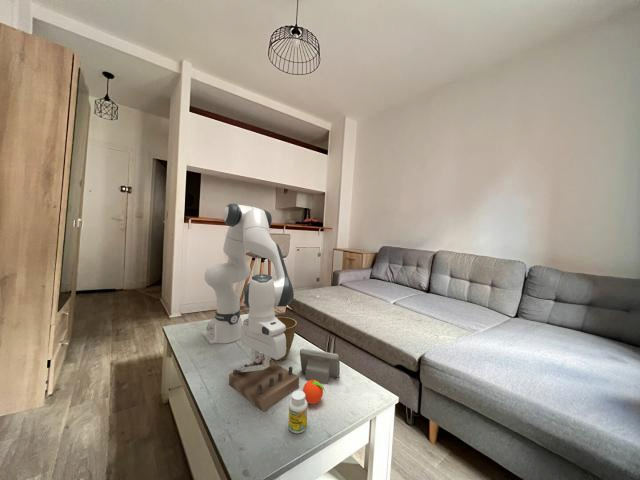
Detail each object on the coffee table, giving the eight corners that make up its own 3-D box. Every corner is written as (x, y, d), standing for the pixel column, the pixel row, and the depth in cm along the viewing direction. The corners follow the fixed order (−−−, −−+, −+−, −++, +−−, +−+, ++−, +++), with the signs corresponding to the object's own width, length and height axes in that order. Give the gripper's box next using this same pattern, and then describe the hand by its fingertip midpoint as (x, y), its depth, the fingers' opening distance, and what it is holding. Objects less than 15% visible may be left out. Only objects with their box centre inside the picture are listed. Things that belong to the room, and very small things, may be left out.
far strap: (256, 363, 96) (256, 361, 97) (262, 360, 99) (262, 358, 99) (280, 351, 88) (279, 349, 88) (286, 348, 90) (285, 346, 90)
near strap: (236, 372, 89) (236, 370, 90) (243, 369, 92) (243, 367, 92) (262, 369, 80) (261, 367, 80) (269, 366, 82) (269, 363, 82)
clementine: (328, 398, 84) (329, 378, 83) (321, 412, 77) (322, 391, 77) (307, 392, 87) (308, 372, 86) (298, 405, 80) (299, 384, 80)
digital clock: (341, 376, 97) (343, 350, 96) (333, 389, 89) (334, 361, 88) (306, 365, 104) (307, 340, 103) (295, 376, 96) (296, 350, 95)
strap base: (228, 384, 89) (229, 366, 89) (264, 366, 102) (264, 350, 101) (263, 411, 77) (264, 391, 76) (298, 387, 89) (299, 369, 89)
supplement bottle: (308, 421, 74) (309, 390, 73) (304, 435, 68) (305, 402, 68) (291, 418, 75) (292, 387, 74) (286, 432, 69) (287, 399, 69)
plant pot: (298, 364, 104) (299, 327, 103) (262, 368, 100) (263, 330, 99) (292, 347, 118) (293, 315, 118) (261, 350, 114) (262, 317, 114)
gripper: (236, 319, 87) (235, 358, 87) (274, 332, 74) (274, 378, 74) (251, 315, 92) (250, 352, 91) (289, 327, 79) (289, 369, 79)
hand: (261, 364), depth 83 cm, fingers open, 3 cm apart
